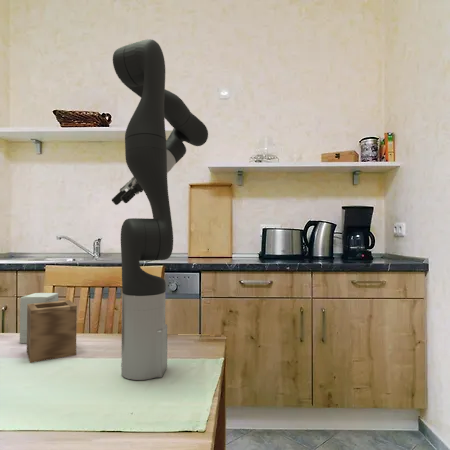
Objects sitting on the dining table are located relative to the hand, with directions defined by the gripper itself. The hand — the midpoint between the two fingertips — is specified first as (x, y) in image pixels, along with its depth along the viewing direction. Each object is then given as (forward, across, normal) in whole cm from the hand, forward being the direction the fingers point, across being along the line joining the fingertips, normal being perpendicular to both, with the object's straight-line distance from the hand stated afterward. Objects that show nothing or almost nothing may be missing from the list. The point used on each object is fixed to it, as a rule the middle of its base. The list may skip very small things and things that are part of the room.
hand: (118, 201), depth 102 cm
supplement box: (+40, -12, +15) cm, 45 cm away
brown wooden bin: (+39, +2, +15) cm, 42 cm away
